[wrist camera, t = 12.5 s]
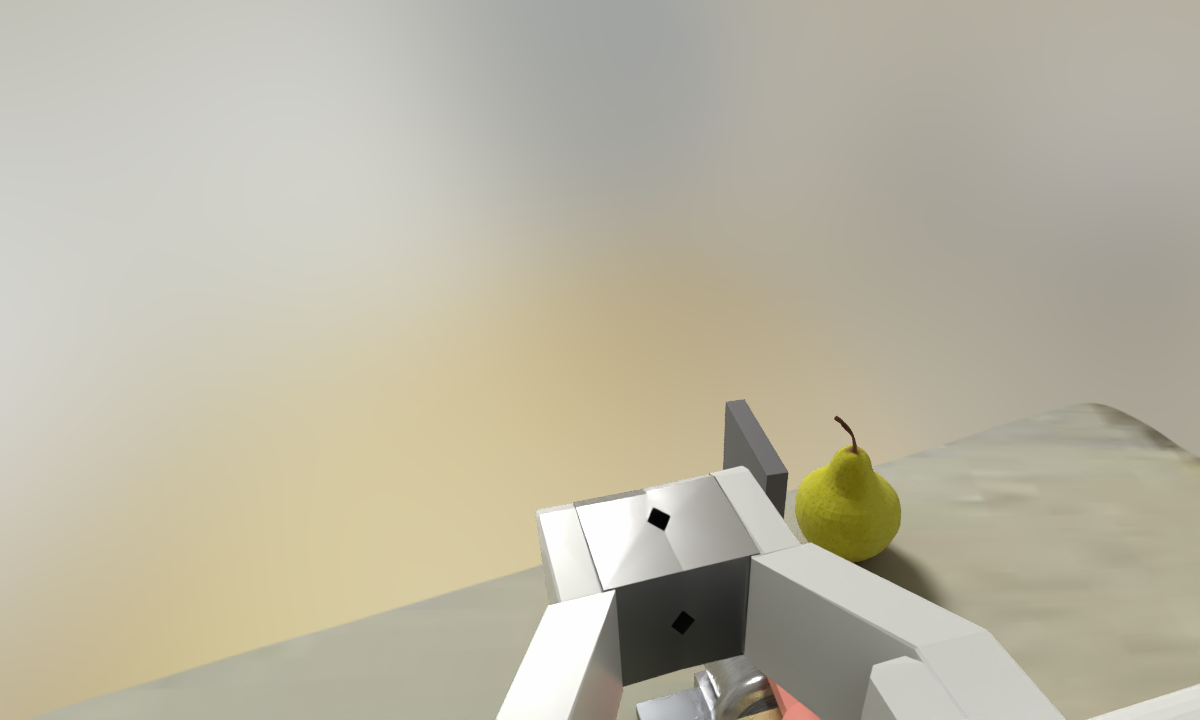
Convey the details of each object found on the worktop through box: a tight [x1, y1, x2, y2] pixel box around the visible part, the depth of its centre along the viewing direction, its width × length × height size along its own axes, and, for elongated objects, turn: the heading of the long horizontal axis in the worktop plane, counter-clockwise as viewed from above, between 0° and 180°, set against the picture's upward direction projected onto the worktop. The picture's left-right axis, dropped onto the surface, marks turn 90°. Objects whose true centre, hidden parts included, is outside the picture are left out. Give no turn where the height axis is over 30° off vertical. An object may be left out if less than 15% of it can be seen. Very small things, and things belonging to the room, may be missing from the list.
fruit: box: [795, 416, 901, 562], centre depth 48 cm, size 7×7×12 cm
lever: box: [723, 400, 822, 720], centre depth 33 cm, size 15×4×10 cm, turn 9°
